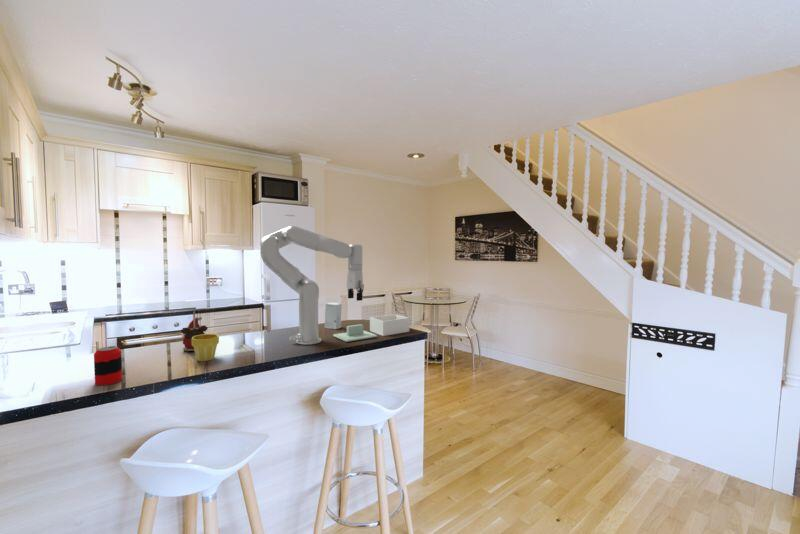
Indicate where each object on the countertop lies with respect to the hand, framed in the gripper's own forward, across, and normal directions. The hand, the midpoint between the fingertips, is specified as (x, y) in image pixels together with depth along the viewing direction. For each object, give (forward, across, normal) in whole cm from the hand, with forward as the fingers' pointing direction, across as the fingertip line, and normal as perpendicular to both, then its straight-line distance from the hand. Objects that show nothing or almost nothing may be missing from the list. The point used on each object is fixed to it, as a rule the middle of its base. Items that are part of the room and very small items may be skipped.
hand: (355, 299), depth 194 cm
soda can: (+21, +8, -103) cm, 105 cm away
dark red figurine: (+21, -21, -73) cm, 79 cm away
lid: (+21, 0, 0) cm, 21 cm away
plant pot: (+21, -2, -71) cm, 74 cm away
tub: (+20, -1, +23) cm, 31 cm away
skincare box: (+21, -27, 0) cm, 34 cm away
